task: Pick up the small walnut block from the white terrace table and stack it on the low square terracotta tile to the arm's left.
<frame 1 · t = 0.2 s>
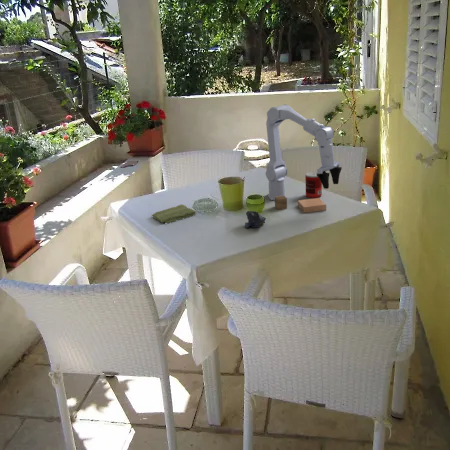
hand: (331, 186, 212), 11 cm above the table, tool pointing down, fingers open, 7 cm apart
canned food: (313, 196, 235), on the table
washcloth: (174, 217, 222), on the table
walnut block: (281, 207, 222), on the table
frog: (254, 226, 203), on the table
terracotta tile: (311, 207, 219), on the table
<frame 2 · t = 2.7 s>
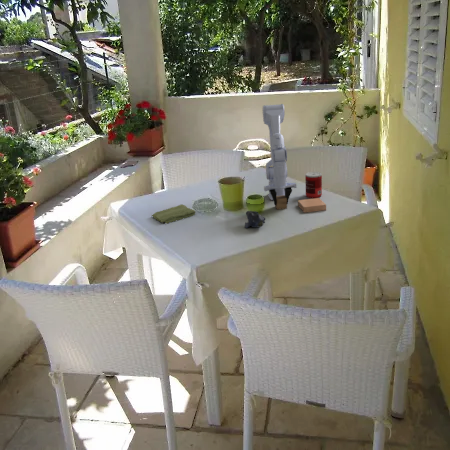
hand: (280, 204, 222), 2 cm above the table, tool pointing down, fingers closed on walnut block, 4 cm apart
walnut block: (281, 207, 222), on the table, touching gripper
everything else where it was.
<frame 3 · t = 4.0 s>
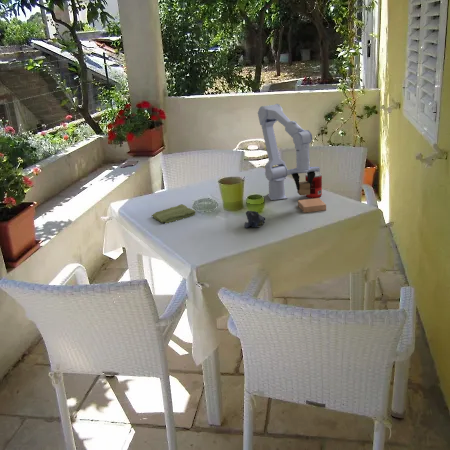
hand: (303, 188, 217), 9 cm above the table, tool pointing down, fingers closed on walnut block, 4 cm apart
walnut block: (303, 193, 217), point 7 cm above the table, touching gripper
everything else where it was.
when the fingers open (5 cm above the table, at t = 5.4 s): walnut block stays where it is, resting on terracotta tile.
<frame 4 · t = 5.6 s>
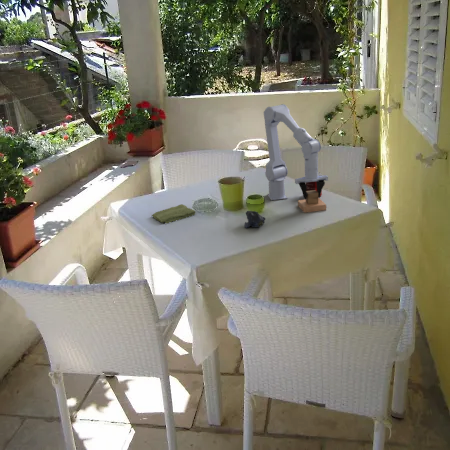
hand: (311, 197, 217), 5 cm above the table, tool pointing down, fingers open, 6 cm apart
walnut block: (311, 202, 218), point 2 cm above the table, touching terracotta tile
everything else where it was.
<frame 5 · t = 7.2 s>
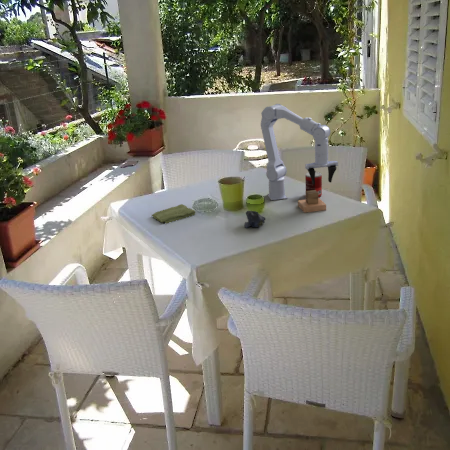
hand: (321, 182, 220), 10 cm above the table, tool pointing down, fingers open, 7 cm apart
nothing on the table moved.
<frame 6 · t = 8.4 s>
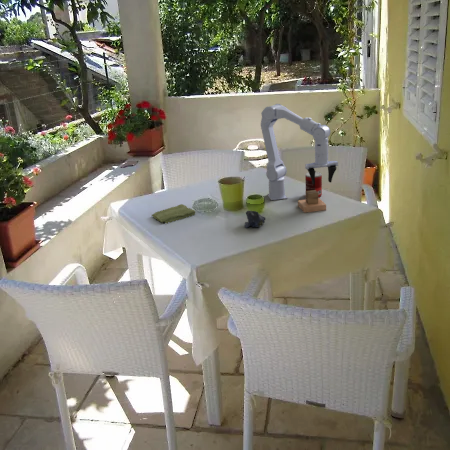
hand: (321, 182, 220), 10 cm above the table, tool pointing down, fingers open, 7 cm apart
nothing on the table moved.
at the end: walnut block inside the target area on the terracotta tile (0.2 cm from its centre), point 2.5 cm above the terracotta tile's base; walnut block tilted 0°; the gripper is holding nothing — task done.
